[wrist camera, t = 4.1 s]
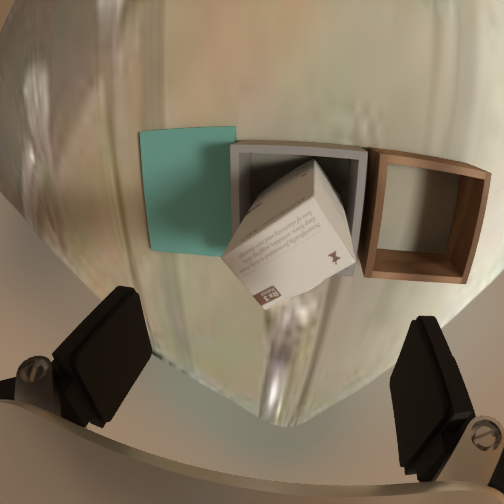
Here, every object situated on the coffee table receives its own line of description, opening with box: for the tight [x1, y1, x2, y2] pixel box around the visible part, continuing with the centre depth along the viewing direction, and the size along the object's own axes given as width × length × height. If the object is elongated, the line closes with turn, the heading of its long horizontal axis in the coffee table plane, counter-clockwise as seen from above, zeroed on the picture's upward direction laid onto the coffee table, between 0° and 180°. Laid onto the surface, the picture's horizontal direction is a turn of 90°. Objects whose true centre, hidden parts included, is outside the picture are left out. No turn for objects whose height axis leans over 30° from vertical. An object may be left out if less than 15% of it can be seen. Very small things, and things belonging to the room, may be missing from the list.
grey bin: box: [230, 140, 368, 276], centre depth 24 cm, size 10×10×4 cm
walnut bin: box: [358, 147, 491, 284], centre depth 22 cm, size 10×10×4 cm
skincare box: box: [221, 159, 356, 310], centre depth 21 cm, size 6×4×12 cm
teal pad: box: [140, 126, 236, 257], centre depth 28 cm, size 9×12×1 cm
